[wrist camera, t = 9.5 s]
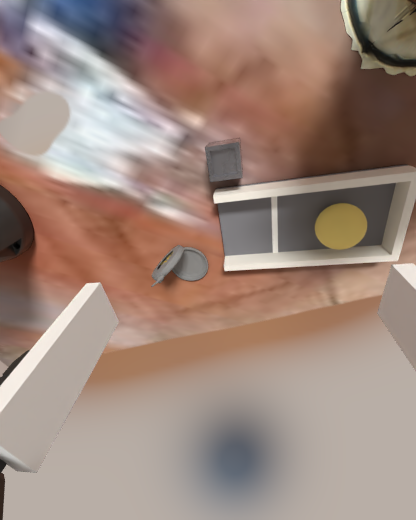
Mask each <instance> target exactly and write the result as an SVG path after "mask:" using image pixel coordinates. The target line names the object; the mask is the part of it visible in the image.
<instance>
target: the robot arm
mask: <svg viewBox="0 0 416 520" xmlns="http://www.w3.org/2000/svg"><path fill="white" fill-rule="evenodd" d="M32 242H33V227H32V224H31V221H30V219H29V216H28V215H27V213H26V211H25V210H24V208H23V207H22V205H21V204H20V203H19V202H18V200H17V199H16V198H15V197H14V196H13V195H12V194H11V193H10V192H9V191H7V190H6V189H5V188H4V187H2V186H1V185H0V262H2V261H6V260H10V259H13V258H15V257H17V256H19V255H20V254H22V253H23V252H25V251H26V250H28V249H29V247H30V246H31V244H32ZM377 314H378V315H379V317H380V318H381V320H382V321H383V323H384V324H385V326H386V327H387V329H388V330H389V332H390V333H391V335H392V336H393V338H394V339H395V341H396V342H397V344H398V345H399V347H400V348H401V350H402V351H403V353H404V354H405V356H406V357H407V359H408V360H409V362H410V363H411V365H412V366H413V368H414V369H415V371H416V266H415V265H414V264H413V263H412V264H395V265H392V266H391V269H390V272H389V276H388V279H387V282H386V286H385V289H384V292H383V296H382V299H381V303H380V306H379V309H378V313H377ZM118 323H119V320H118V318H117V316H116V314H115V312H114V310H113V308H112V306H111V304H110V302H109V300H108V298H107V295H106V293H105V291H104V289H103V287H102V285H101V283H86V285H85V286H84V287H83V288H82V289H81V291H80V292H79V293H78V294H77V295H76V297H75V298H74V299H73V300H72V301H71V302H70V304H69V305H68V306H67V307H66V308H65V310H64V311H63V312H62V313H61V314H60V316H59V317H58V318H57V319H56V320H55V321H54V323H53V324H52V325H51V326H50V327H49V329H48V330H47V331H46V332H45V333H44V335H43V336H42V337H41V338H40V339H39V341H38V342H37V343H36V344H35V345H34V346H33V348H32V349H31V350H28V351H26V352H25V353H24V354H23V355H21V356H20V357H19V358H18V359H16V360H15V361H14V362H13V363H12V364H11V365H10V366H9V368H8V369H7V370H6V371H5V372H4V373H3V376H2V377H0V520H2V519H3V503H4V487H5V479H4V474H3V473H1V472H2V470H3V469H4V467H5V466H6V464H7V465H9V466H10V467H12V468H13V469H15V470H16V471H21V472H33V473H37V472H38V470H39V468H40V466H41V464H42V463H43V461H44V459H45V457H46V455H47V453H48V451H49V449H50V448H51V446H52V444H53V442H54V440H55V439H56V437H57V435H58V433H59V431H60V429H61V428H62V426H63V423H64V422H65V420H66V418H67V417H68V415H69V413H70V411H71V409H72V407H73V405H74V404H75V402H76V400H77V398H78V396H79V394H80V393H81V391H82V389H83V387H84V385H85V383H86V382H87V380H88V378H89V376H90V374H91V372H92V371H93V369H94V367H95V365H96V363H97V361H98V359H99V358H100V356H101V354H102V352H103V350H104V348H105V347H106V345H107V343H108V341H109V339H110V337H111V336H112V334H113V332H114V330H115V328H116V326H117V325H118Z"/></svg>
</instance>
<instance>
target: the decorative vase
mask: <svg viewBox="0 0 416 520" xmlns="http://www.w3.org/2000/svg"><path fill="white" fill-rule="evenodd" d="M341 12H342V15H343V19H344V22H345V27H346V32H347V34H348V35H349V36H350V37H351V38H352V39H353V42H352V48H351V50H356V51H359V53H360V55H361V58H362V65H361V69H374V68H384V69H385V71H386V73H388V74H391V75H396V74H399V73H402V72H405V73H406V74H407V75H409V76H414V75H415V74H416V0H341Z"/></svg>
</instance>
